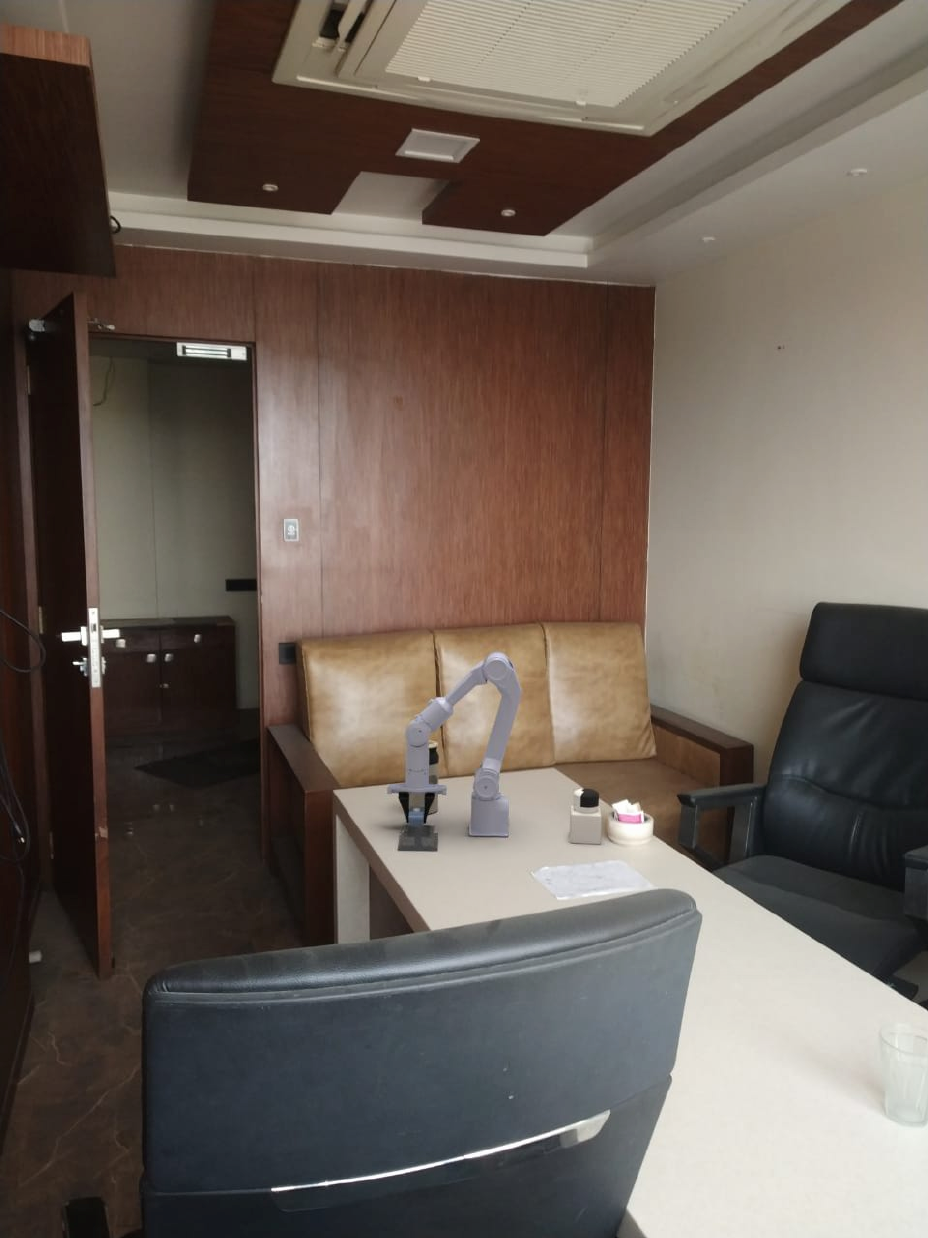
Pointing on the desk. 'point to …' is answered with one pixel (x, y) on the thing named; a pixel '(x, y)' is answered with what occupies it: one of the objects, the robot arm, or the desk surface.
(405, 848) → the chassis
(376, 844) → the desk surface
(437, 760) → the travel mug
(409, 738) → the robot arm
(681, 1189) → the desk surface
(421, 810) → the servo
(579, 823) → the grey rotary knob pedestal
